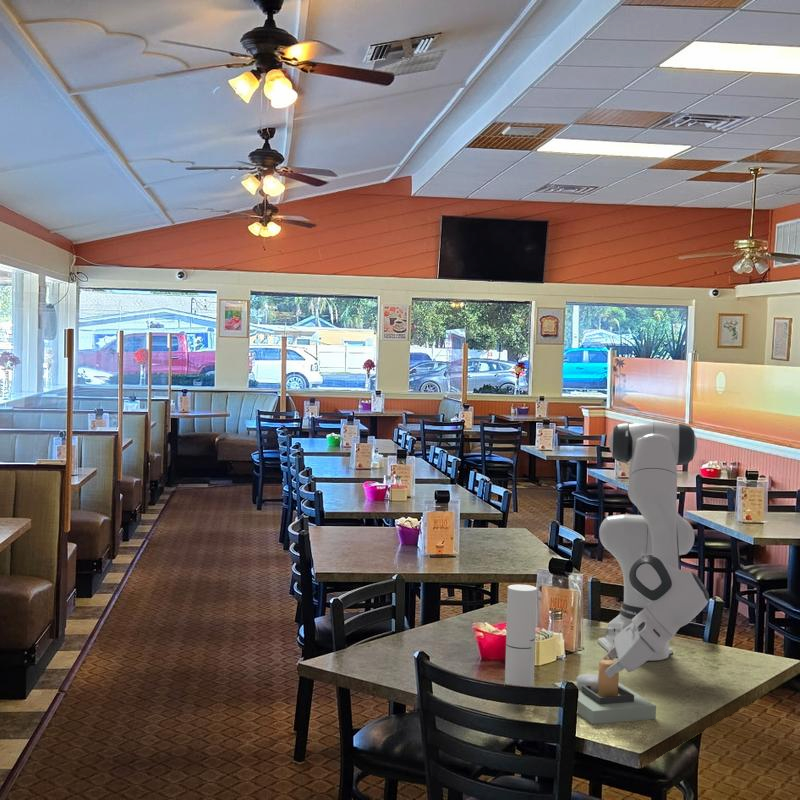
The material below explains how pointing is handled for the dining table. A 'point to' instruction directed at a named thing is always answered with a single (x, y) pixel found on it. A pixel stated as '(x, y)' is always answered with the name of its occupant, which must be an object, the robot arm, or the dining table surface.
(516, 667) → the cylindrical container
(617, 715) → the stepped grey tray
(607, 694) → the orange cylinder
